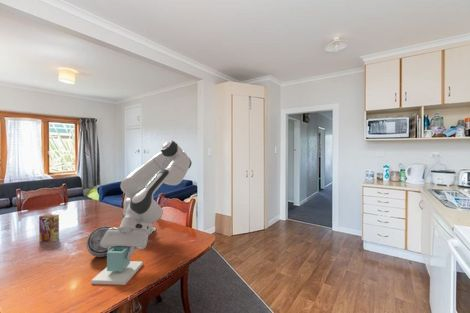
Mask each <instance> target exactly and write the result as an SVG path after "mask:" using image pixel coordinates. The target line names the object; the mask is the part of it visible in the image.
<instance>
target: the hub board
mask: <svg viewBox="0 0 470 313" xmlns="http://www.w3.org/2000/svg"><path fill="white" fill-rule="evenodd" d="M143 265H144V261H137V260H135V261H134V260H133V261H131V260H130V264H129V265H128V266H127V267H126V268H125V269H124V270H123V271H107V266H106V267H105V268H104V269H103V270H101V271H100V272H99V273H98V274H96V275H95V276H94V277H93V278H92V279H90V283H91V284H92V285H119V286H120V285H121V286H123V285H124V286H126V285H127V283H128V282H129V281H130V280H131V279H132V278H133V277H134V275H135V274H136V273H137V272H139V270H140V269H141V267H142V266H143Z"/></svg>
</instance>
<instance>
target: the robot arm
mask: <svg viewBox="0 0 470 313" xmlns="http://www.w3.org/2000/svg"><path fill="white" fill-rule="evenodd" d="M191 167H192V160H191V158H190V157H189V156H188V154H187V153H186V151H184V150H183V149H182V148H181V147H180V146H179V145H178V143H177V142H176V141H174V140H168V141H166V142H164V143H163V144H162V146H161V148H160V152H158V153H156V154H155V155H153V156H152V157H151V158H149V159H148V160H146V162H144V163H143V164H142V165H141V166H139V167H138V168H136V169H135V170H134V171H132V172H130V173H129V174H128V175H126V176H125V177H124V178H122V180H121V182H120V184H119V186H120V189H121V191H122V192H123V193H125V194H124V198H123V199H124V200H123V215H122V220H121V223H120V225H119V227H113V228H110V229H108V230H107V231H106V233H105V235H104V237H103V238H102V240H101V242H100V245H101V246H102V247H103V248H108V251H110V250H111V249H112V248H114V247H115V246H127V247H130V252H129V253H126V256H125V258H126V259H129V258H130V259H131V256H132V255H133V253H134V252H136V250H144V249H145V248H146V247H147V244H148V240H149V236H150V235H151V234H153V233H154V232H155V231H156V230H157V229H156V227H155V226H154V227H153V223H157V222H158V221H159V220H160V219H161V218H162V216H163V212H164V211H163V208H162V207H161V206H160V204H159V203H158V202H157V201H156V200H155V199H154V194H155V193H156V192H157V191H158V190H159V188H160V187H161V186H162V184H165V185H168V186H177V185H180V184H181V182H182V181H183V179H184V178H185V176H186V174H187V172H188V170H189V169H190V168H191ZM153 231H154V232H153ZM152 232H153V233H152Z"/></svg>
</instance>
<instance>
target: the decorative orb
mask: <svg viewBox="0 0 470 313" xmlns="http://www.w3.org/2000/svg"><path fill="white" fill-rule="evenodd" d="M110 228H114V227H112V226H110V225H109V226H108V225H104V226H99V227H97V228H95V229H94V230H92V231H91V232H90V234H89V235H88V237H87V240H86V248H87V249H86V250H88V252H89V253H90V255H92V256H94V257H96V258H97V257H98V258H104V257H107V252H108V248H103V247H102V246H101V245H100V242H101V240H102V238H103V237H104V235H105V233H106V231H107V230H108V229H110Z"/></svg>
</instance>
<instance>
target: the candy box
mask: <svg viewBox="0 0 470 313" xmlns="http://www.w3.org/2000/svg"><path fill="white" fill-rule="evenodd" d="M38 216H39V217H38V220H39V221H38V223H39V224H38V226H39V227H38V229H39V233H38V234H39V238H38V239H39V242H40V243H45V242H46V243H47V242H48V243H49V242H50V243H52V242H55V241H58V240H60V214H42V215H38Z"/></svg>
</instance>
